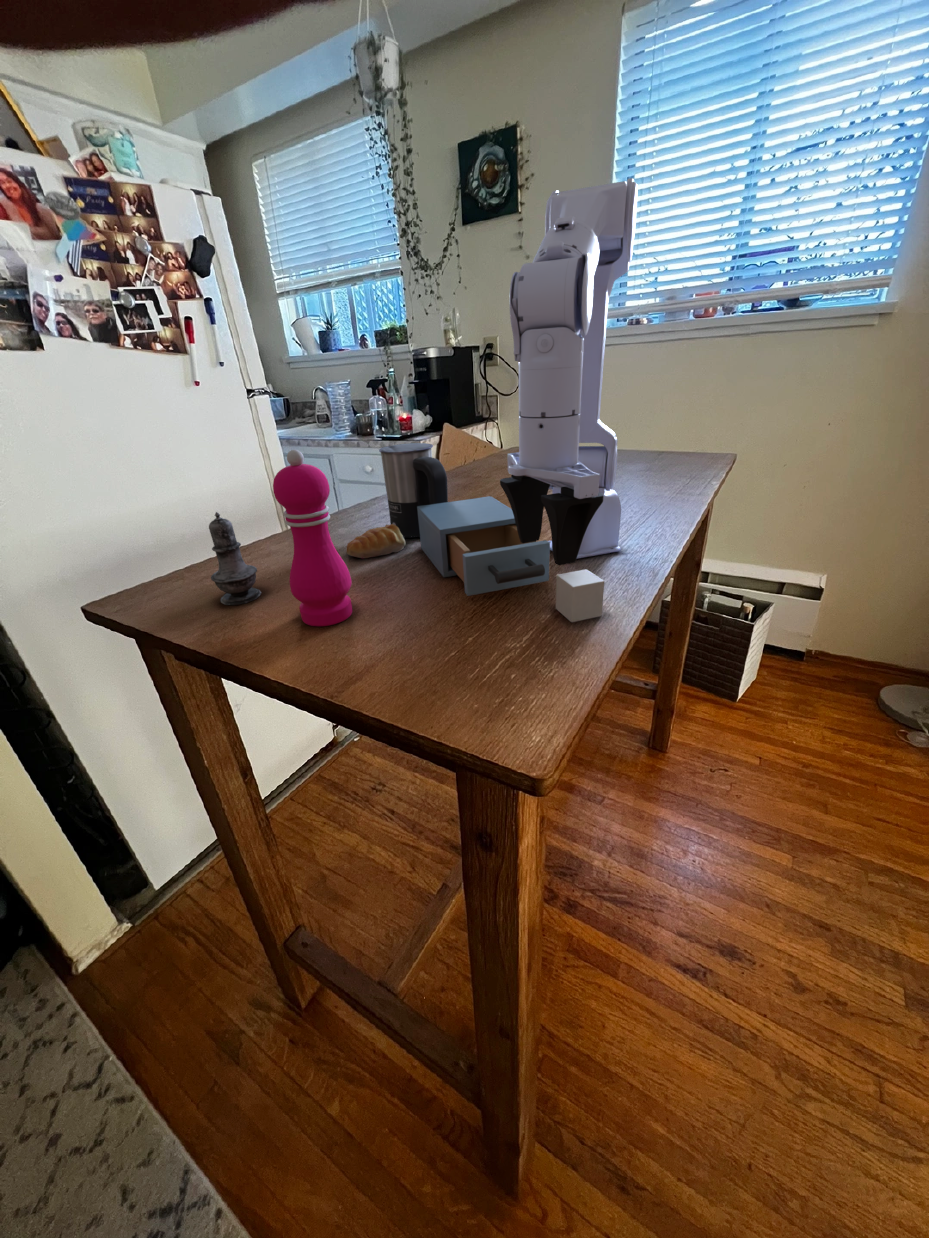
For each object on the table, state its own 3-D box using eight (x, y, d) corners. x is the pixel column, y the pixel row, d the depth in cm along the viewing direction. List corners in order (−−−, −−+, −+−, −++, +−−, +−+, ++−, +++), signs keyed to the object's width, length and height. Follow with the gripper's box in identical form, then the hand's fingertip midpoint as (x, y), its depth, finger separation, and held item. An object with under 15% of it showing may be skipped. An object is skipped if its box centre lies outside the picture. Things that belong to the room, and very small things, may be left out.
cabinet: (524, 563, 75) (524, 516, 71) (443, 577, 72) (439, 529, 68) (492, 537, 86) (490, 496, 83) (421, 548, 83) (416, 506, 80)
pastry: (359, 564, 78) (355, 541, 76) (339, 554, 83) (335, 532, 81) (409, 549, 83) (406, 526, 82) (388, 540, 88) (385, 519, 86)
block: (584, 602, 62) (586, 568, 60) (601, 616, 59) (604, 580, 57) (555, 608, 61) (556, 574, 59) (571, 622, 58) (573, 587, 56)
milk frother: (379, 535, 91) (367, 450, 84) (429, 512, 102) (422, 435, 96) (444, 545, 84) (437, 453, 77) (490, 519, 96) (487, 438, 89)
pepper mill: (327, 634, 59) (289, 457, 49) (285, 621, 62) (243, 454, 53) (368, 609, 64) (342, 445, 55) (328, 598, 67) (296, 443, 58)
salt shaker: (219, 610, 66) (191, 521, 61) (216, 594, 71) (190, 511, 65) (266, 599, 68) (243, 513, 63) (260, 584, 73) (238, 503, 68)
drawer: (564, 593, 63) (565, 553, 60) (478, 609, 60) (476, 568, 57) (512, 551, 77) (511, 517, 75) (441, 563, 74) (438, 528, 72)
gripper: (480, 413, 52) (485, 538, 58) (550, 426, 40) (547, 582, 46) (540, 407, 54) (538, 528, 60) (624, 417, 42) (611, 568, 48)
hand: (546, 551), depth 54 cm, fingers open, 7 cm apart
